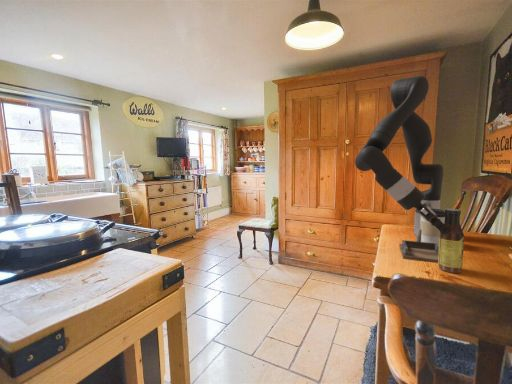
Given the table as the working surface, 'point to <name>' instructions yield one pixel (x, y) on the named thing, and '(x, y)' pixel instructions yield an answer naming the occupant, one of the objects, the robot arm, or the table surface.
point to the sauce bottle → (451, 243)
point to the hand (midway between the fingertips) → (443, 229)
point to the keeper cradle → (419, 249)
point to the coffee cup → (431, 228)
